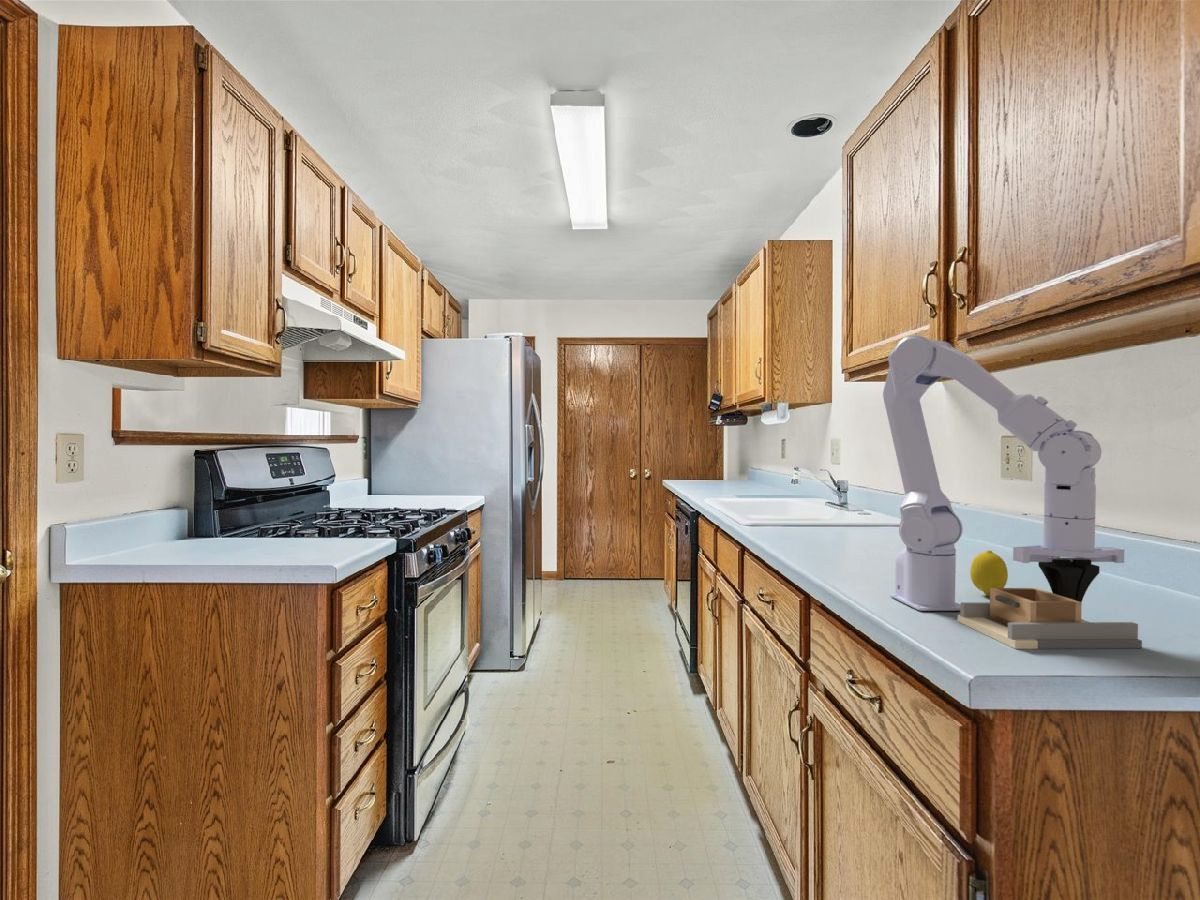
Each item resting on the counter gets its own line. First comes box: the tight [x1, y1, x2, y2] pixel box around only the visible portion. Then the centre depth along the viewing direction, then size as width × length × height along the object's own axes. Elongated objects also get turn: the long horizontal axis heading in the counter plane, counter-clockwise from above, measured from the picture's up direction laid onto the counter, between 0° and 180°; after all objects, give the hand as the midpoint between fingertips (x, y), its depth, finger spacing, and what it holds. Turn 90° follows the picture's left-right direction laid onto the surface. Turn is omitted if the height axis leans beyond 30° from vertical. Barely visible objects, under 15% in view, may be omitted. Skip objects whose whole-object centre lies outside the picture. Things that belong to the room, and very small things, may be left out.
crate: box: [989, 587, 1083, 626], centre depth 85 cm, size 8×8×4 cm
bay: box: [957, 601, 1143, 650], centre depth 85 cm, size 12×17×3 cm
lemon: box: [969, 549, 1009, 597], centre depth 106 cm, size 6×6×8 cm
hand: (1067, 613), depth 85 cm, fingers closed
